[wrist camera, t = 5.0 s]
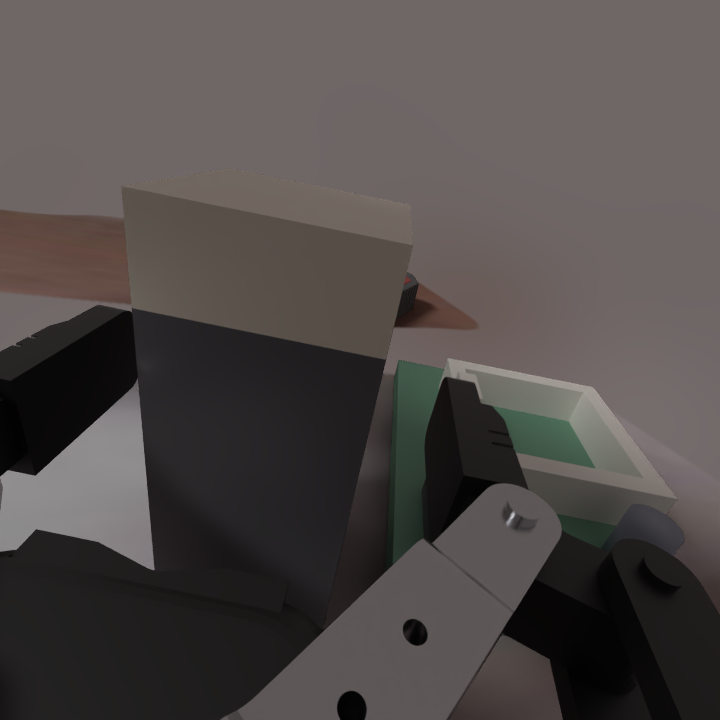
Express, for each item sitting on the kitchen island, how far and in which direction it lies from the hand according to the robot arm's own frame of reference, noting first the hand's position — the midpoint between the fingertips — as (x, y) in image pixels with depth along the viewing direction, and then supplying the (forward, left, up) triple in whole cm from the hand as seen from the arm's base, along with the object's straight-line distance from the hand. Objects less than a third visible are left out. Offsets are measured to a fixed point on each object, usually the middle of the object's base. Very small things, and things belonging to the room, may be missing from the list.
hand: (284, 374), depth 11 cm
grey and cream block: (0, 0, -7) cm, 7 cm away
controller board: (+9, +6, -7) cm, 12 cm away
